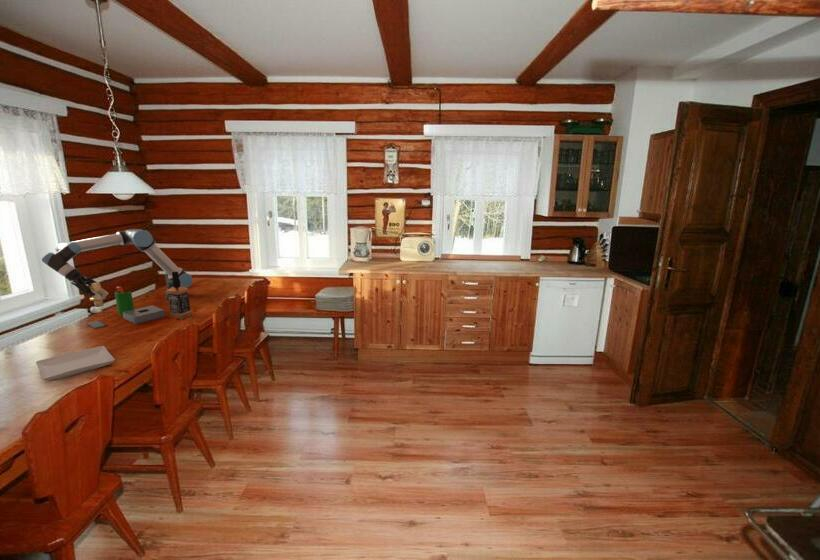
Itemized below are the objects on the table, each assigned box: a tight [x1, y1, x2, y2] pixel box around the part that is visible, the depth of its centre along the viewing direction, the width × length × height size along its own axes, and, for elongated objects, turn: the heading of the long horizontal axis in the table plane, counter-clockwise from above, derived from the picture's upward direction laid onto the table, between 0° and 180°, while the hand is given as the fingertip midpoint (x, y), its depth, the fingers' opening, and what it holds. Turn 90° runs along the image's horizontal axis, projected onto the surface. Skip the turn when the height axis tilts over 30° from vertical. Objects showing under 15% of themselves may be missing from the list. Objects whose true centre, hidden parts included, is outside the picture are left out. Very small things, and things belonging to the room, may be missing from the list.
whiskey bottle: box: [166, 272, 193, 321], centre depth 261 cm, size 10×10×32 cm
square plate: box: [35, 345, 116, 381], centre depth 194 cm, size 27×27×4 cm
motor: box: [114, 286, 135, 316], centre depth 270 cm, size 10×9×20 cm
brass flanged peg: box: [89, 282, 107, 308], centre depth 247 cm, size 8×8×15 cm
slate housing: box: [122, 304, 166, 325], centre depth 260 cm, size 18×18×6 cm
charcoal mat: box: [86, 319, 109, 330], centre depth 252 cm, size 14×14×1 cm
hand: (103, 296), depth 248 cm, fingers closed on brass flanged peg, 7 cm apart
